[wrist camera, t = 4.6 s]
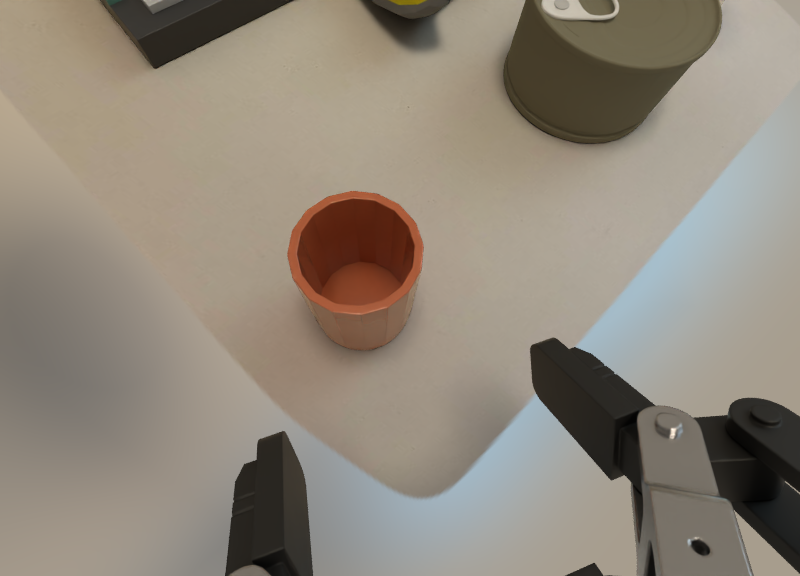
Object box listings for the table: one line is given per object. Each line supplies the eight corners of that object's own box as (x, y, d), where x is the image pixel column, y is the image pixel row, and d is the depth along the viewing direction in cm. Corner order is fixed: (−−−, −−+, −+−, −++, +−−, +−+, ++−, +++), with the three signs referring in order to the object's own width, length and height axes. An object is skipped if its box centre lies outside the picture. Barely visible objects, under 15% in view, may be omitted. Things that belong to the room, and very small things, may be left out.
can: (680, 130, 31) (759, 50, 25) (532, 159, 29) (575, 82, 23) (614, 16, 35) (668, -79, 28) (480, 37, 33) (504, -59, 27)
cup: (354, 370, 24) (342, 342, 16) (296, 296, 25) (261, 238, 18) (429, 311, 25) (450, 260, 18) (371, 243, 27) (368, 169, 19)
